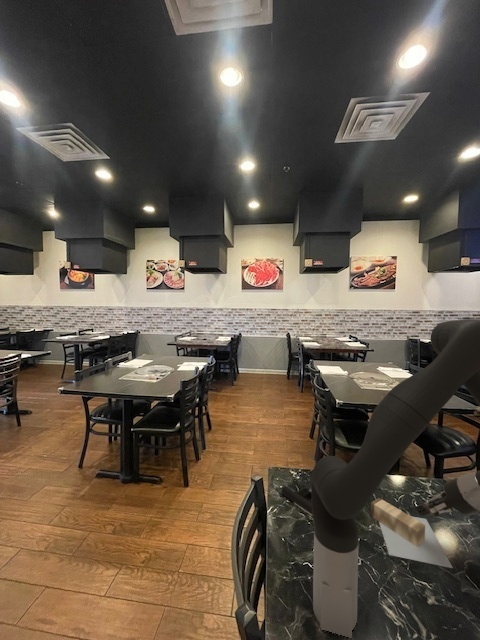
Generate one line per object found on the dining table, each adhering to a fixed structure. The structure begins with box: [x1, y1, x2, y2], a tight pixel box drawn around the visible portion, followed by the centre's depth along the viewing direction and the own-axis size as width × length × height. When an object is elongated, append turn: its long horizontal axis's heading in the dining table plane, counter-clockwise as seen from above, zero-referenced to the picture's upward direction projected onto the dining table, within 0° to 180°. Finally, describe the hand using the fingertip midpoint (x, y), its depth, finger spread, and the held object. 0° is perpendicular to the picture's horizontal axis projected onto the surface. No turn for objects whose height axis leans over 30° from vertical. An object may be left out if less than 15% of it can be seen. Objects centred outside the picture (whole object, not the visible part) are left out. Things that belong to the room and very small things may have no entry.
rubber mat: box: [378, 516, 454, 569], centre depth 83 cm, size 18×15×1 cm
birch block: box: [370, 497, 425, 547], centre depth 86 cm, size 4×4×14 cm
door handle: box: [281, 485, 313, 517], centre depth 98 cm, size 3×20×16 cm
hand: (418, 511), depth 80 cm, fingers closed
